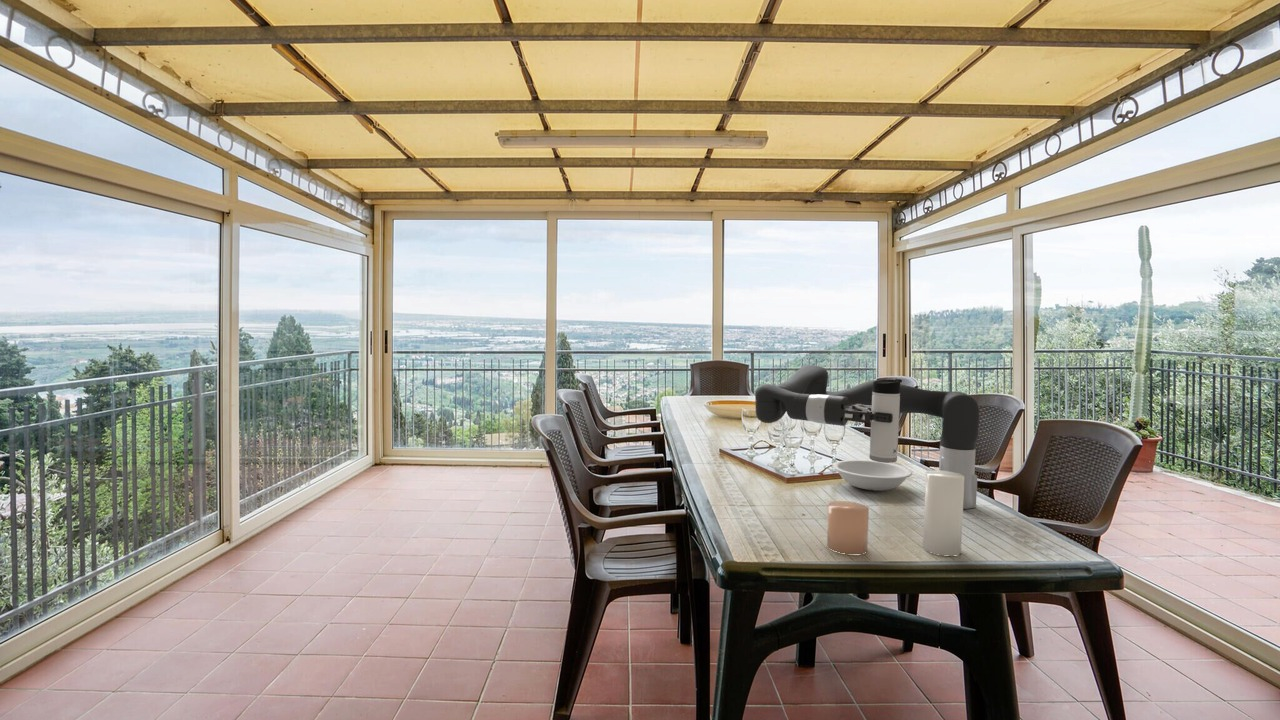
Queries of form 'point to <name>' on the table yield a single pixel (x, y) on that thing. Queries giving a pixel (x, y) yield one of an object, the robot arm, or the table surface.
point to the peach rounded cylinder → (847, 527)
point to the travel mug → (882, 432)
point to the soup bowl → (872, 474)
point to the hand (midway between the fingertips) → (895, 416)
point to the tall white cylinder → (943, 512)
